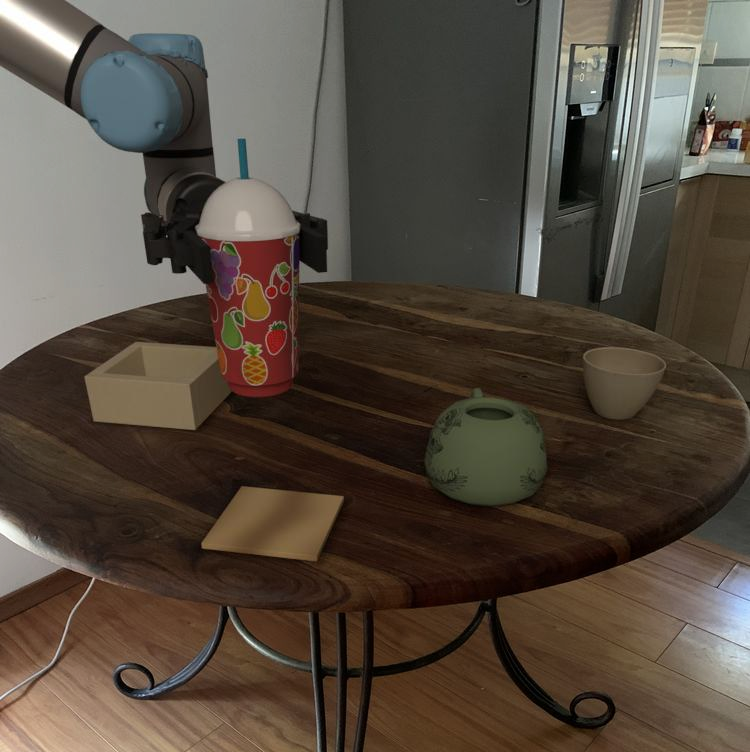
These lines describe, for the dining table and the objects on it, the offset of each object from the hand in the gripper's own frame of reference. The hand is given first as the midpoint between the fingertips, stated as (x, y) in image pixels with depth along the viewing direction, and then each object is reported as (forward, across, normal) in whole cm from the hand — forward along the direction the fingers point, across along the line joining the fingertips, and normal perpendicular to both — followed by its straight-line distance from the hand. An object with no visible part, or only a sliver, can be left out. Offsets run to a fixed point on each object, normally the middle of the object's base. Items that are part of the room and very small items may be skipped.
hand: (266, 259), depth 56 cm
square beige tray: (-37, +5, -26) cm, 45 cm away
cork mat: (-3, 0, -26) cm, 26 cm away
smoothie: (-5, 0, -12) cm, 13 cm away
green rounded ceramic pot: (-4, -23, -26) cm, 35 cm away
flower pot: (-12, -48, -26) cm, 56 cm away
